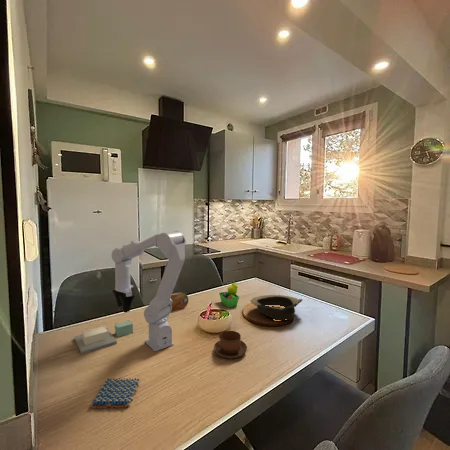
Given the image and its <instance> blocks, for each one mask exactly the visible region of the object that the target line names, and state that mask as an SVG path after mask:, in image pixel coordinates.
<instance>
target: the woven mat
mask: <svg viewBox="0 0 450 450" xmlns="http://www.w3.org/2000/svg"><path fill="white" fill-rule="evenodd" d="M138 387H140V379H139V378H132V379H131V378H120V377H119V378H116V379H115V378H111V379H110V378H107V380H105V381H104V384H103V385H102V386H101V388H100V390H99V392H98V393H97V395H96V397H95V398H94V399H93V401H92V404H91V405H90V407H91V408H92V409H94V408H95V409H99V408H101V409H103V408H104V409H105V408H129V407H131V406H132V401H133V400H134V399H135V398H134V396H135V395H137V391H138Z"/></svg>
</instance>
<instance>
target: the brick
mask: <svg viewBox="0 0 450 450" xmlns="http://www.w3.org/2000/svg"><path fill="white" fill-rule="evenodd" d="M133 331H134V325H133V322H132V321H131V320H129V319H128V320H126V321H123V322H118V323H115V324H114V334H115V335H116V337H117V338H119V337H123V336H126V335H129V334H133V333H134V332H133Z"/></svg>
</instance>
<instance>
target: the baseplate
mask: <svg viewBox="0 0 450 450" xmlns="http://www.w3.org/2000/svg"><path fill="white" fill-rule="evenodd" d="M73 337H74V342H75V343H76V345H77V348H78V350H79V352H80V355H81V356H82V355H84V354H85V355H86V354H88V353H93V352H94V351H98V350H101V349H104V348H107V347H110V346H114V345H117V340H116V339H115V337H114V336H113V334H112V333H111V332H110V331H109V329H108V328H107V327H106V326H105V325H101V326H98V327H94V328H91V329H87V330H86V329H85V330H82V331H81V334H79V335H75V336H73Z"/></svg>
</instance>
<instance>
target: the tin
mask: <svg viewBox="0 0 450 450" xmlns="http://www.w3.org/2000/svg"><path fill="white" fill-rule="evenodd" d="M171 300H172V301H173V302H172V305H171V307H172V310H171V313H172V312H176V311H180V310H184V309H185V308H186V307H187V305H188V304H189V297H188V295H187V294H186V293H184V292H182V291H181V292H180V291H179V292H176V293H172V295H171Z"/></svg>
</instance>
